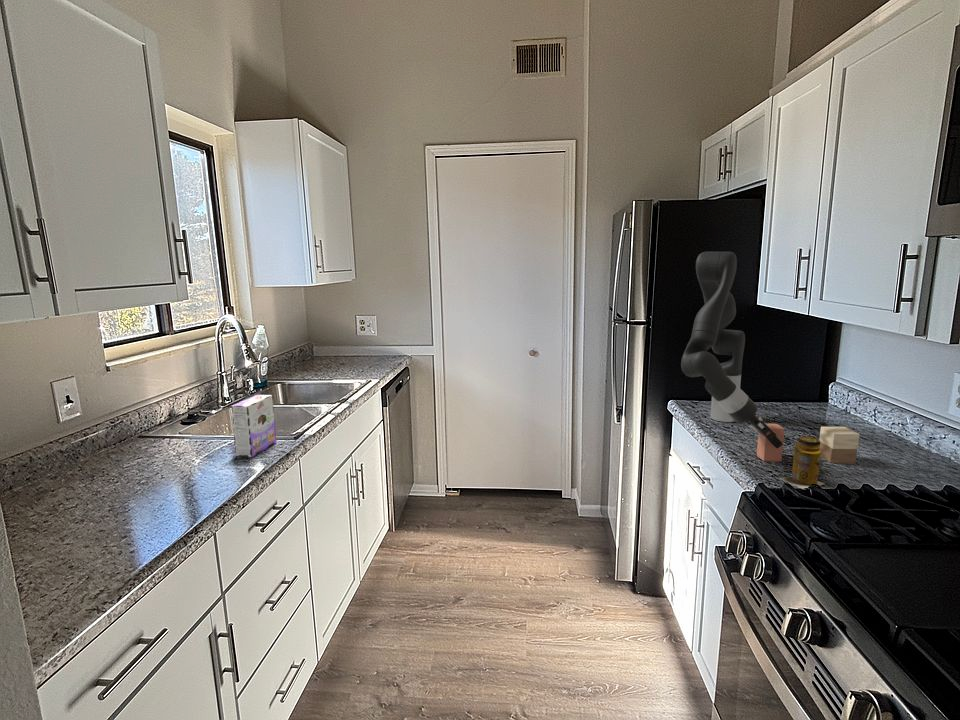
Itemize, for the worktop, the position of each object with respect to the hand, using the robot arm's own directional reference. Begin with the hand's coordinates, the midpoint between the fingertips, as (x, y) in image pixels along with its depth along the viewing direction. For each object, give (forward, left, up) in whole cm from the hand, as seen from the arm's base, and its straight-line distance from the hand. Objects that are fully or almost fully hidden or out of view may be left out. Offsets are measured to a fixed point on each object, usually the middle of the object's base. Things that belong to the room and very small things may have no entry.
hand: (773, 441), depth 162 cm
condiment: (+16, +6, -6) cm, 18 cm away
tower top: (-7, +17, -1) cm, 19 cm away
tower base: (-7, +17, -5) cm, 19 cm away
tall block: (0, -1, -5) cm, 5 cm away
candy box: (+56, -149, -6) cm, 159 cm away
